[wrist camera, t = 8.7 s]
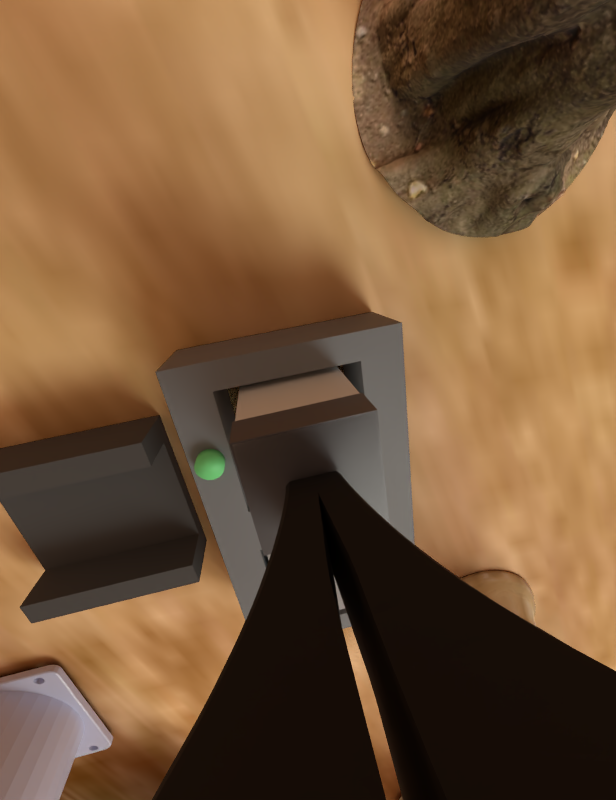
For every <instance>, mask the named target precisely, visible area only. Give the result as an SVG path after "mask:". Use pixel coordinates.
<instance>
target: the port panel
mask: <svg viewBox="0 0 616 800" xmlns="http://www.w3.org/2000/svg"><path fill="white" fill-rule="evenodd" d="M339 365H343V370H344V375H345V376H346V378H347V379H348V380H349V381H350V382H351V383H352V385H353V386H354V387H355V388H356V389H357V391H358V392H359V393H363V394H364V395H365V396H366V397H367V398H368V400H369V401H370V402H371V403H372V404H373V405H374V406H375V408H376V409H377V410H378V420H379V430H380V439H381V449H382V458H383V468H384V478H385V487H386V497H387V506H388V516H389V524H390V525H392V526H393V527H394V528H395V529H396V530H397V531H399V532H400V533H401V534H402V535H403V536H405V537H406V538H407V539H408V540H409V541H411V542H412V543H413V544H414V545H415V543H414V526H413V508H412V491H411V473H410V456H409V438H408V421H407V404H406V386H405V369H404V351H403V334H402V323H401V322H399V321H396V320H393V319H390V318H388V317H385V316H382V315H379V314H377V313H374V312H369V313H364V314H359V315H354V316H349V317H344V318H339V319H334V320H329V321H324V322H318V323H313V324H308V325H303V326H298V327H293V328H288V329H283V330H278V331H273V332H268V333H262V334H257V335H252V336H247V337H242V338H237V339H232V340H227V341H222V342H217V343H212V344H206V345H201V346H196V347H191V348H186V349H181V350H176V351H175V352H174V353H173V355H172V356H171V357H170V358H169V359H168V360H167V361H166V362H165V363H164V364H163V365H162V366H161V367H160V368H159V369H158V370H157V371H156V375H157V378H158V381H159V383H160V386H161V389H162V392H163V394H164V397H165V400H166V403H167V405H168V408H169V411H170V414H171V417H172V419H173V422H174V425H175V428H176V430H177V433H178V436H179V439H180V441H181V444H182V447H183V450H184V452H185V455H186V458H187V461H188V463H189V466H190V469H191V472H192V474H193V477H194V480H195V483H196V485H197V488H198V491H199V494H200V496H201V499H202V502H203V505H204V508H205V510H206V513H207V516H208V519H209V521H210V524H211V527H212V530H213V532H214V535H215V538H216V541H217V543H218V546H219V549H220V552H221V554H222V557H223V560H224V563H225V565H226V568H227V571H228V574H229V576H230V579H231V582H232V585H233V587H234V590H235V593H236V596H237V599H238V601H239V604H240V607H241V610H242V612H243V615H244V618H245V621H246V619H247V616H248V614H249V612H250V609H251V607H252V604H253V602H254V599H255V597H256V594H257V592H258V589H259V587H260V584H261V581H262V578H263V575H264V573H265V570H266V567H267V564H268V561H269V558H270V555H271V554H269V555H265V556H264V555H263V551H262V548H261V545H260V542H259V538H258V535H257V532H256V529H255V526H254V522H253V519H252V516H251V513H250V509H249V506H248V503H247V500H246V496H245V493H244V490H243V487H242V483H241V480H240V477H239V474H238V471H237V467H236V464H235V461H234V458H233V454H232V451H231V448H230V445H229V441H230V434H231V428H232V422H234V421H235V414H234V411H233V407H232V404H231V400H230V396H229V393H228V388H233V387H238V386H243V385H247V384H252V383H257V382H262V381H267V380H272V379H276V378H281V377H286V376H291V375H296V374H301V373H305V372H310V371H315V370H320V369H325V368H329V367H334V366H339ZM334 579H335V577H334ZM335 585H336V592H337V598H338V605H339V611H340V617H341V624H342V629H343V628H347V627H351V623H350V620H349V618H348V615H347V612H346V609H345V606H344V603H343V600H342V597H341V595H340V592H339V589H338V586H337V583H336V580H335Z"/></svg>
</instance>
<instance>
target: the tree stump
mask: <svg viewBox="0 0 616 800" xmlns="http://www.w3.org/2000/svg"><path fill="white" fill-rule="evenodd" d="M352 91H353V96H354V100H353V101H354V102H353V103H354V110H355V115H356V120H357V125H358V129H359V133H360V136H361V139H362V142H363V145H364V148H365V150H366V153H367V155H368V157H369V159H370V161H371V163H372V165H373V166H374V168H375V169H377V170H378V171H379V172H380V173H381V174H382V175H383V176H384V177H385V179H386V180H387V182H388V183H389V185H390V186H391V187H392V188H393V190H394V191H395V192H396V194H397V195H398V196H399V197H401V198H402V199H403V200H404V201H405V202H407V203H408V204H409V205H410V206H412V207H413V208H414V209H415V210H416V211H418V212H419V213H420V214H421V215H422V217H424V219H425V220H427V221H428V222H430V223H432V224H433V225H435V226H436V227H438V228H440V229H442V230H444V231H447V232H450V233H453V234H457V235H461V236H468V237H496V236H499V235H502V234H507V233H512V232H515V231H519V230H522V229H525V228H527V227H529V226H530V225H531V223H532V222H533V221H534V219H535V218H536V217H537V216H539V215H540V214H541V213H542V212H544V211H545V210H546V209H547V208H548V207H549V206H551V205H552V204H553V203H554V202H555V201H556V200H557V199H559V198H560V197H561V196H562V195H563V194H564V193H565V191H566V189H567V188H568V187H569V186H570V185H571V183H572V182H573V181H574V180H575V178H576V177H577V176H578V174H579V173H580V172H581V170H582V169H583V168H584V166H585V165H586V164H587V162H588V160H589V158H590V157H591V155H592V153H593V152H594V150H595V148H596V147H597V145H598V143H599V141H600V139H601V137H602V135H603V133H604V131H605V128H606V126H607V124H608V121H609V119H610V117H611V116H612V114H613V112H614V111H615V110H616V0H363V1H362V4H361V8H360V13H359V17H358V22H357V28H356V33H355V40H354V49H353V60H352Z"/></svg>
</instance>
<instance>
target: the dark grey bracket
mask: <svg viewBox="0 0 616 800" xmlns="http://www.w3.org/2000/svg"><path fill="white" fill-rule="evenodd" d="M0 502H1V504H2V505H3V507H4V508H5V510H6V511H7V513H8V514H9V516H10V517H11V519H12V520H13V522H14V523H15V525H16V526H17V528H18V529H19V531H20V532H21V534H22V535H23V537H24V539H25V540H26V542H27V543H28V545H29V546H30V548H31V549H32V551H33V552H34V554H35V555H36V557H37V558H38V560H39V561H40V563H41V564H42V566H43V567H44V569H45V572H44V573H43V575H42V576H41V577H40V579H39V580H38V582H37V583H36V585H35V586H34V587H33V589H32V590H31V592H30V593H29V595H28V596H27V597H26V599H25V600H24V602H23V603H22V605H21V606H20V608H21V610H22V611H23V613H24V614H25V615H26V617H27V618H28V619H29V621H30V622H31V623H35V622H39V621H43V620H47V619H51V618H55V617H59V616H63V615H67V614H71V613H75V612H79V611H83V610H87V609H91V608H95V607H99V606H104V605H108V604H112V603H116V602H120V601H124V600H128V599H132V598H136V597H140V596H144V595H148V594H152V593H156V592H160V591H164V590H168V589H172V588H176V587H180V586H184V585H188V584H192V583H196V582H199V580H200V574H201V569H202V563H203V558H204V552H205V546H206V541H207V540H206V537H205V535H204V532H203V529H202V527H201V524H200V521H199V519H198V516H197V513H196V511H195V508H194V505H193V503H192V500H191V497H190V495H189V492H188V489H187V487H186V484H185V482H184V479H183V476H182V474H181V471H180V468H179V466H178V463H177V460H176V458H175V455H174V452H173V450H172V447H171V444H170V442H169V439H168V437H167V434H166V431H165V429H164V426H163V423H162V421H161V418H160V415H158V416H153V417H148V418H144V419H139V420H134V421H129V422H124V423H120V424H115V425H110V426H105V427H101V428H96V429H91V430H86V431H82V432H77V433H72V434H67V435H63V436H58V437H53V438H48V439H43V440H39V441H34V442H29V443H24V444H20V445H15V446H10V447H5V448H1V449H0Z"/></svg>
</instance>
